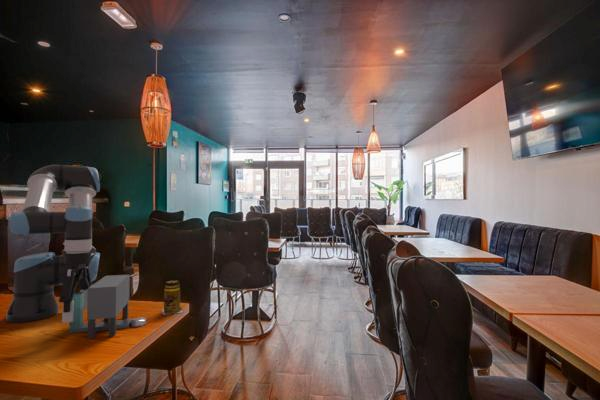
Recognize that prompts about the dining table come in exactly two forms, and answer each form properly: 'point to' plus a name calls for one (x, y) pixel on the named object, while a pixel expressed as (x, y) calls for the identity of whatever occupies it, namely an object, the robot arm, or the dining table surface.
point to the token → (138, 322)
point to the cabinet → (108, 301)
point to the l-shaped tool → (79, 326)
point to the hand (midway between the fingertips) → (76, 314)
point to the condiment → (172, 298)
